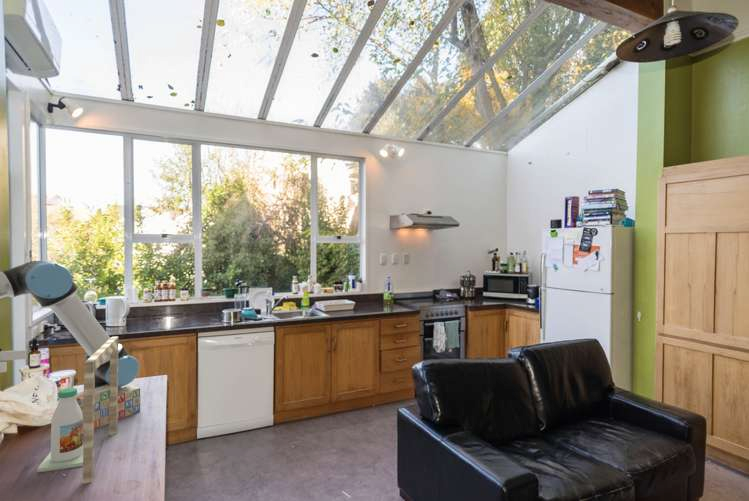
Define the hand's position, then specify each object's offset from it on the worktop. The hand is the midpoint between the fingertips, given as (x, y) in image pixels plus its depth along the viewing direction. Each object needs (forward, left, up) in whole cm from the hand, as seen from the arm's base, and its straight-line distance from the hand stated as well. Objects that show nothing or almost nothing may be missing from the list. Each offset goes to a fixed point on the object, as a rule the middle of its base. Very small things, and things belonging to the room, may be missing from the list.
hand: (17, 360), depth 122 cm
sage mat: (0, +14, -30) cm, 33 cm away
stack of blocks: (-28, +11, -30) cm, 43 cm away
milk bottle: (0, +14, -29) cm, 32 cm away
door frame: (-2, +23, -30) cm, 38 cm away
